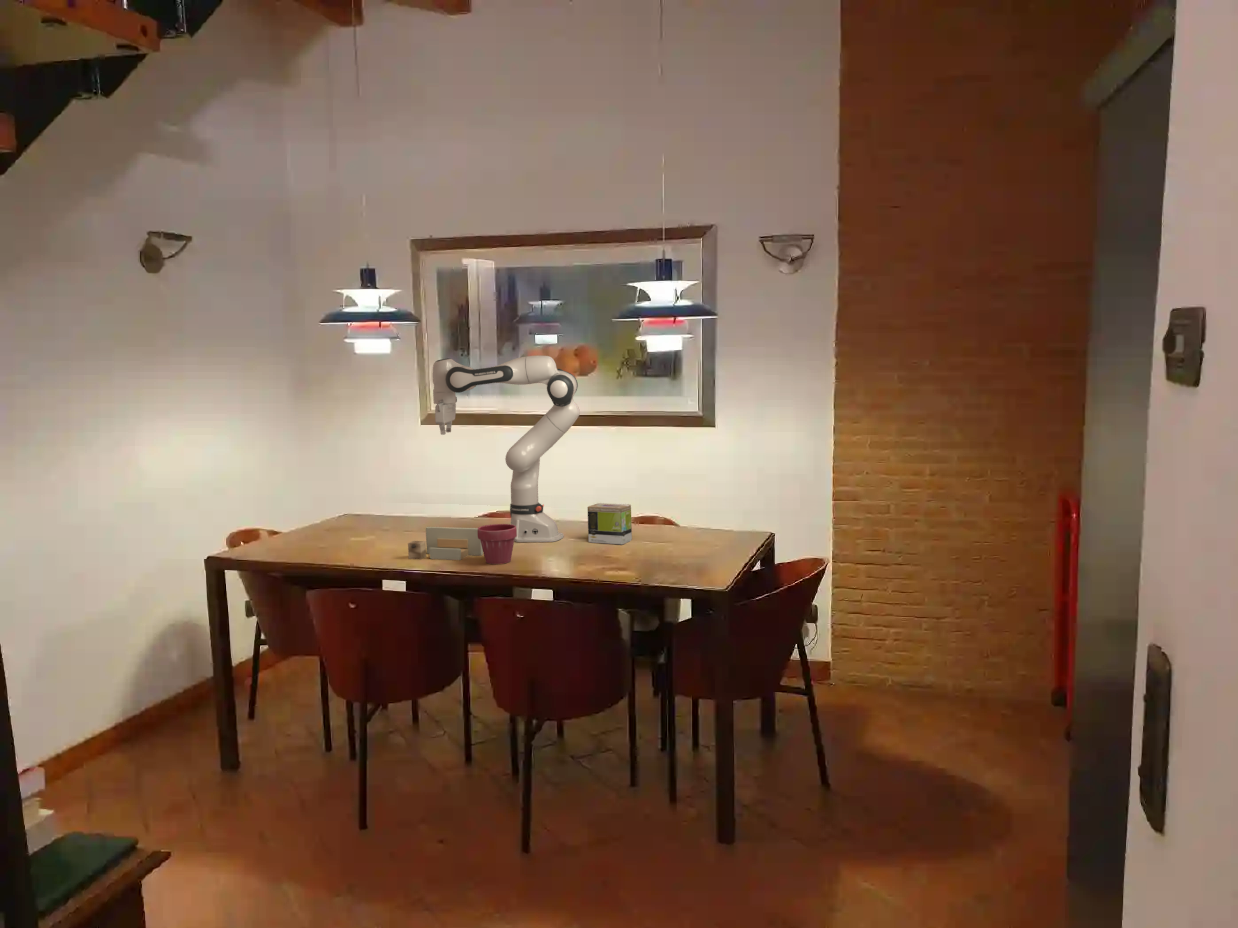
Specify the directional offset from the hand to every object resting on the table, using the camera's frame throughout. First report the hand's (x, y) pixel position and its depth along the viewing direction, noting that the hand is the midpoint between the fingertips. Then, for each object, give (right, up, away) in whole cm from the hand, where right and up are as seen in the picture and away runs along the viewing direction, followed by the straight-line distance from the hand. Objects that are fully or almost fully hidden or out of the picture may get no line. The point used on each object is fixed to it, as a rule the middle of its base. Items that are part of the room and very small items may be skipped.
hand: (446, 433), depth 376 cm
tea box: (+66, -43, -6) cm, 80 cm away
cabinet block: (-5, -47, -28) cm, 56 cm away
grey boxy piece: (+7, -47, -27) cm, 55 cm away
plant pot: (+26, -48, -37) cm, 66 cm away
